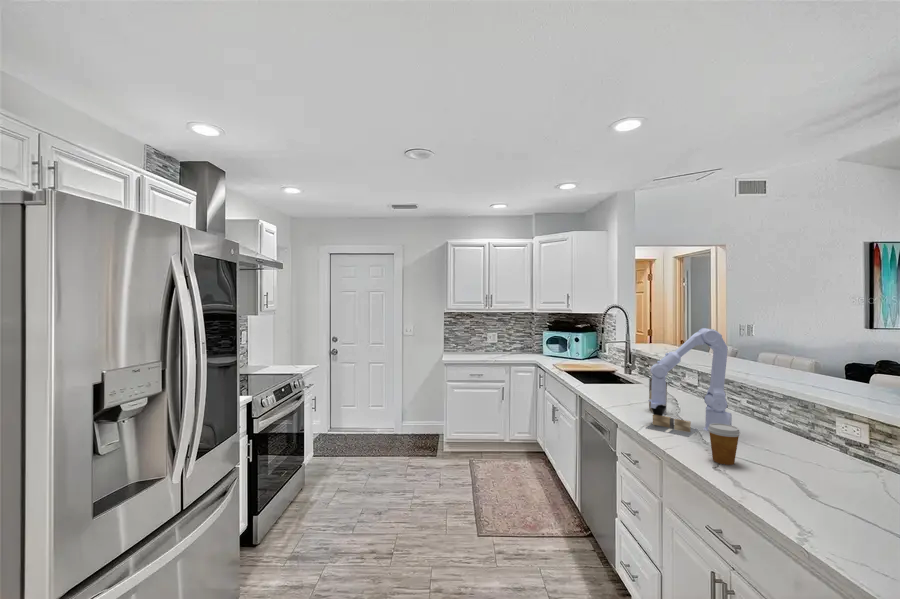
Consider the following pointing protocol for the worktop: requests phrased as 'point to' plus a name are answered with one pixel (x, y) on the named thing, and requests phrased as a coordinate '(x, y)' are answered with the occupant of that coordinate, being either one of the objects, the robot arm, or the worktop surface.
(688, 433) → the card
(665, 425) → the hinged panel
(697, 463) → the worktop surface
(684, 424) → the block
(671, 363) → the robot arm
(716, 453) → the disposable coffee cup
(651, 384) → the coffee box
